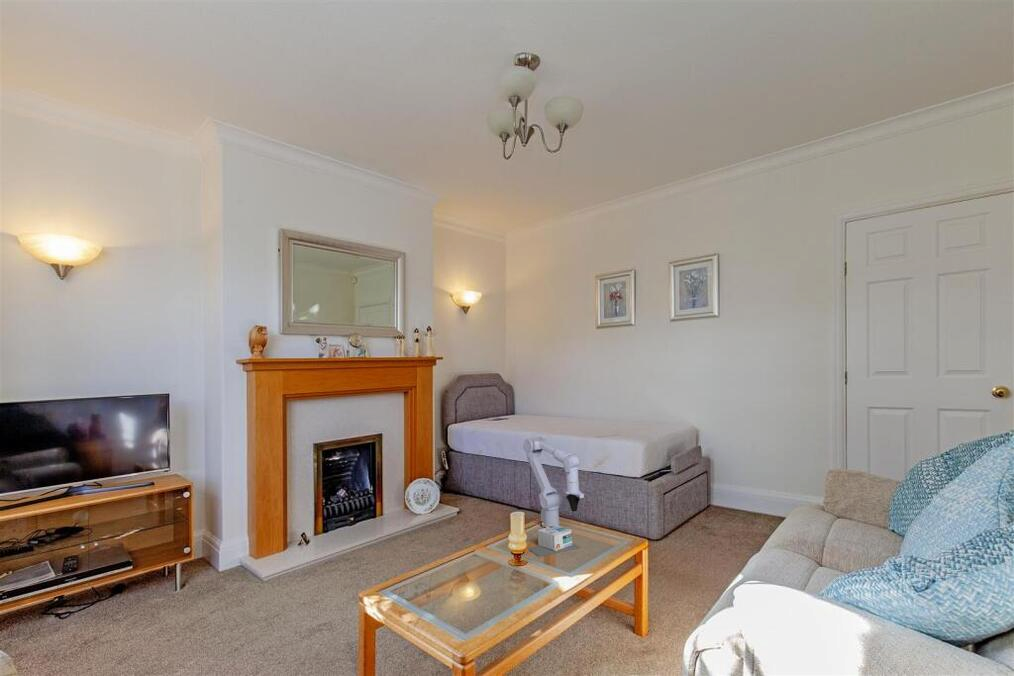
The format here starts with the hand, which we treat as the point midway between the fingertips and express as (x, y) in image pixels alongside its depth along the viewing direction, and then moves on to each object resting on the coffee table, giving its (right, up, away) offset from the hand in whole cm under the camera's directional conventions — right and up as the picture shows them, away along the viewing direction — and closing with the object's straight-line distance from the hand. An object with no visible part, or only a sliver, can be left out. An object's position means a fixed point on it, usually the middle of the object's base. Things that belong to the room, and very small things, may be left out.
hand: (574, 511), depth 224 cm
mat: (-11, -10, -18) cm, 23 cm away
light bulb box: (-14, -7, -11) cm, 19 cm away
